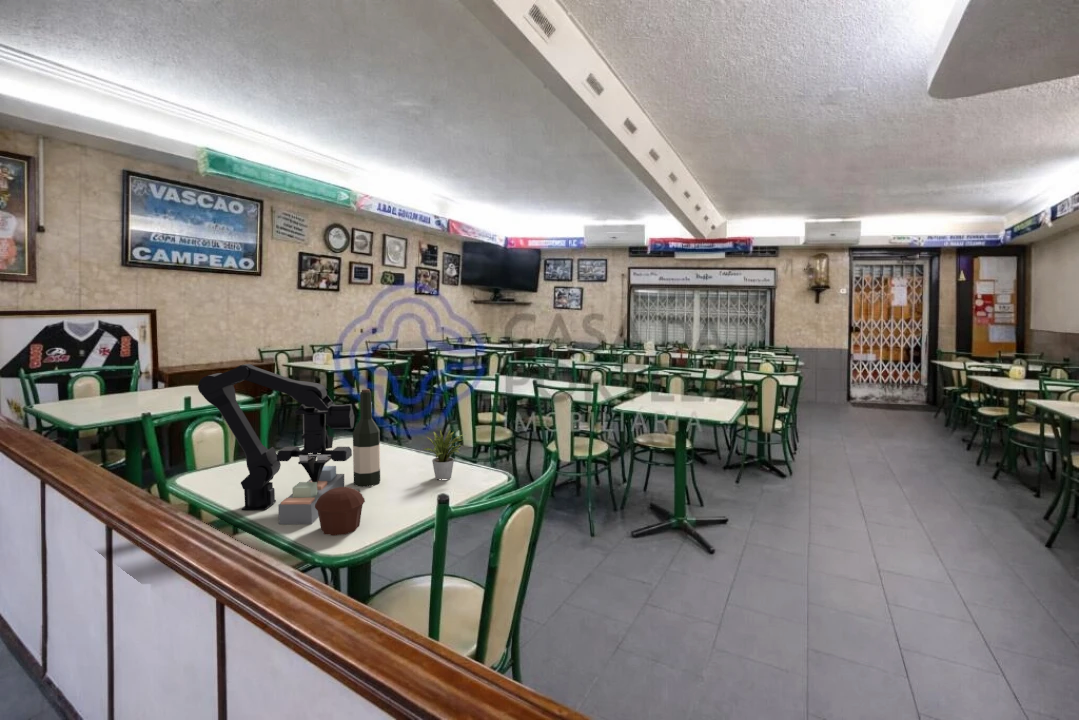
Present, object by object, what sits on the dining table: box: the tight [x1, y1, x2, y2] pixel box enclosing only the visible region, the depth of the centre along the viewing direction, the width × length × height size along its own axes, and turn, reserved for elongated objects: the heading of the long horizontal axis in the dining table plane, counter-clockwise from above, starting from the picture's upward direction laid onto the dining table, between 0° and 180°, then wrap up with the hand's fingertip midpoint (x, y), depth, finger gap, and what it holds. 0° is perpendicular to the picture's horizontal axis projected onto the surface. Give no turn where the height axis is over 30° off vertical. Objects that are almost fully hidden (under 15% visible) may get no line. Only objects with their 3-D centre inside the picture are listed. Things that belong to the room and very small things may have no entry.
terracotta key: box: [310, 481, 327, 490], centre depth 145 cm, size 5×5×4 cm
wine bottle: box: [352, 388, 381, 488], centre depth 163 cm, size 8×8×30 cm
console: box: [277, 473, 346, 525], centre depth 144 cm, size 8×26×6 cm, turn 3°
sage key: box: [292, 481, 317, 498], centre depth 137 cm, size 5×5×4 cm
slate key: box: [319, 465, 337, 481], centre depth 152 cm, size 5×5×4 cm
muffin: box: [315, 486, 366, 537], centre depth 129 cm, size 12×11×10 cm
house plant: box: [423, 429, 466, 481], centre depth 168 cm, size 14×14×16 cm
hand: (315, 483), depth 145 cm, fingers closed, pressing on terracotta key
